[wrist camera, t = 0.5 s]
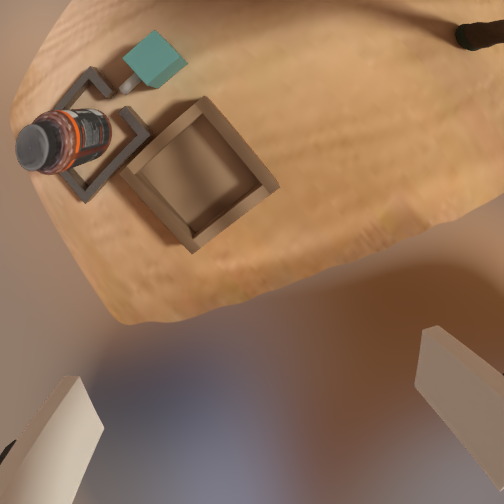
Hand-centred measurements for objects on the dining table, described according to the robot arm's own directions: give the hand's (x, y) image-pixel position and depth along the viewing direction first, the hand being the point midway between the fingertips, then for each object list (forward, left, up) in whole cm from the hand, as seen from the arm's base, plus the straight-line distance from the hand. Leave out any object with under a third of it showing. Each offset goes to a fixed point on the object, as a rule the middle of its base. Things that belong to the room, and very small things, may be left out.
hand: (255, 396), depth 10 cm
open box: (+2, -5, -25) cm, 26 cm away
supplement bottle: (+8, -17, -25) cm, 32 cm away
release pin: (-1, -17, -25) cm, 30 cm away
